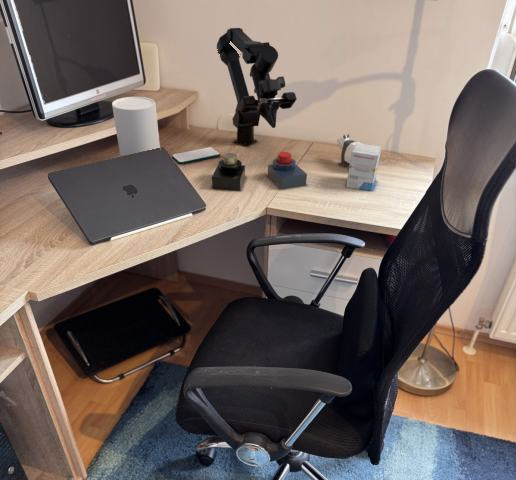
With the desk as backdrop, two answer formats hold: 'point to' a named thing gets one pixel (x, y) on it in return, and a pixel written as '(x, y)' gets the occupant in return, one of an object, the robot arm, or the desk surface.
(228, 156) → the light button
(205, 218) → the desk surface
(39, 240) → the desk surface
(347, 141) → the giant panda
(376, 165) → the ink box
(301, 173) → the box
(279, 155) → the button
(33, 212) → the desk surface
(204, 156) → the smartphone
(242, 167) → the light box
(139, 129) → the canister
